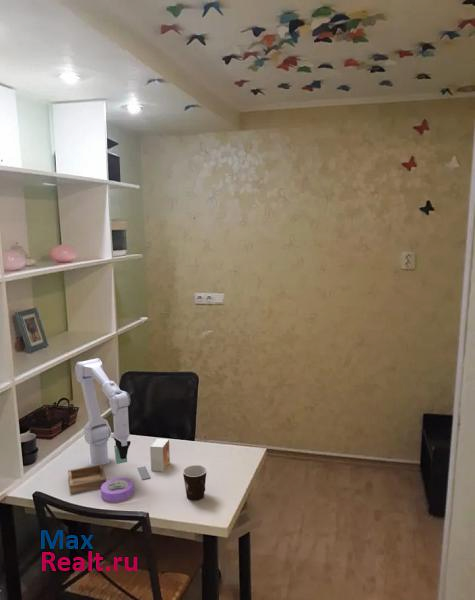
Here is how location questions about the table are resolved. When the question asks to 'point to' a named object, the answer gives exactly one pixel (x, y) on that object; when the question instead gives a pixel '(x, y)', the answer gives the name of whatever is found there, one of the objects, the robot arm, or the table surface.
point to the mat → (143, 473)
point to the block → (118, 456)
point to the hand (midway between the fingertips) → (122, 456)
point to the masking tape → (116, 495)
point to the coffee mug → (195, 482)
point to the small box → (160, 454)
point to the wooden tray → (86, 478)
